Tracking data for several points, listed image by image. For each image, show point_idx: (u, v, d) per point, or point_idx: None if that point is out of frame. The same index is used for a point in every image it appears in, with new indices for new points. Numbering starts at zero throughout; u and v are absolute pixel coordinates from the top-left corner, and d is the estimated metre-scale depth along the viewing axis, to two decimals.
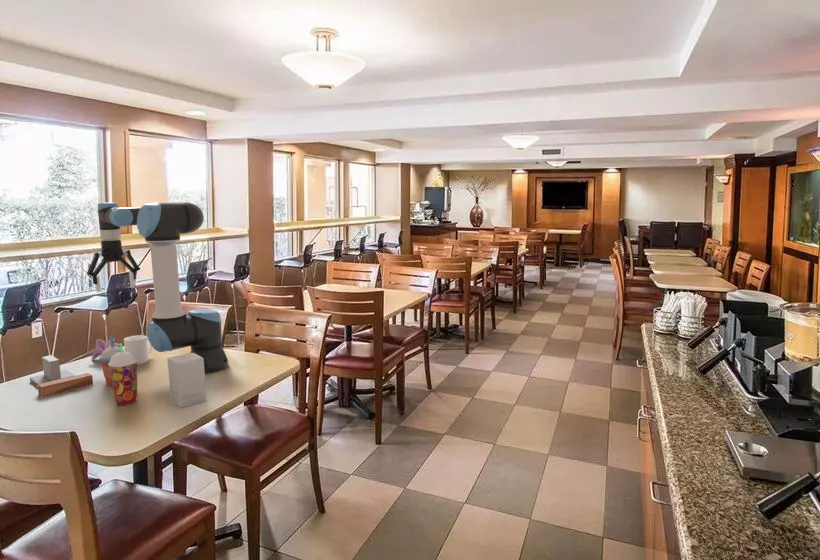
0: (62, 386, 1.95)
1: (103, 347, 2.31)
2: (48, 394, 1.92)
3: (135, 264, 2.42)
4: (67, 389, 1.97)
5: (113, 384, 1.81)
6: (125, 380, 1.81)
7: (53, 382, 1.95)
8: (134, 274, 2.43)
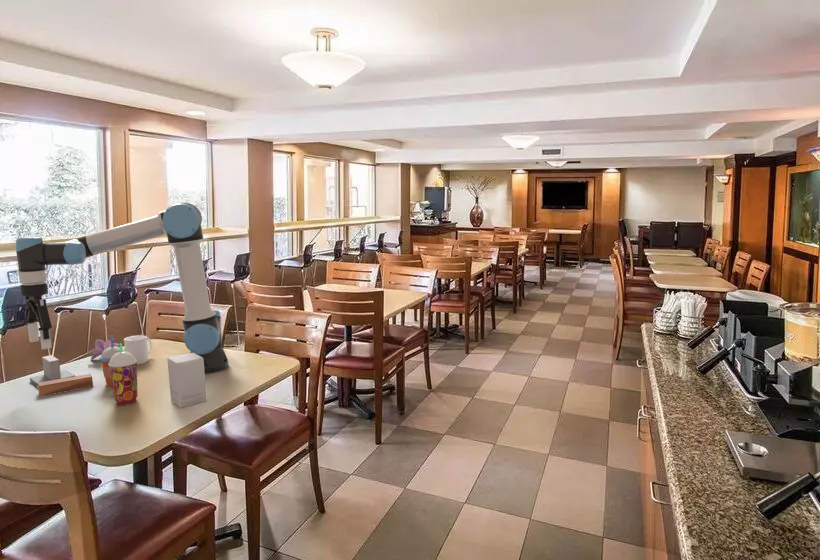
0: (60, 386, 1.95)
1: (102, 347, 2.31)
2: (46, 393, 1.93)
3: (41, 320, 1.83)
4: (66, 389, 1.96)
5: (113, 384, 1.81)
6: (125, 380, 1.81)
7: (52, 381, 1.95)
8: (43, 333, 1.84)
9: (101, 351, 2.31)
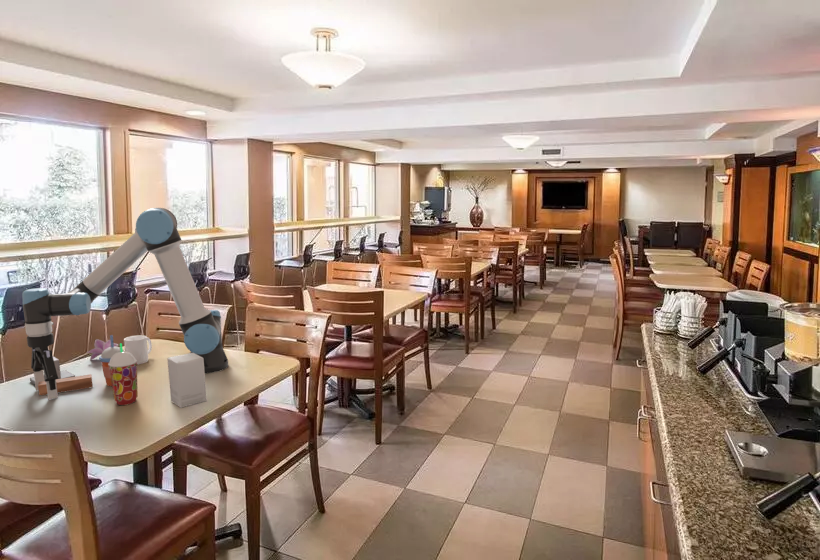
0: (59, 386, 1.95)
1: (102, 347, 2.31)
2: (45, 393, 1.93)
3: (47, 372, 1.86)
4: (65, 389, 1.96)
5: (113, 384, 1.81)
6: (125, 380, 1.81)
7: None
8: (50, 383, 1.87)
9: (100, 351, 2.31)
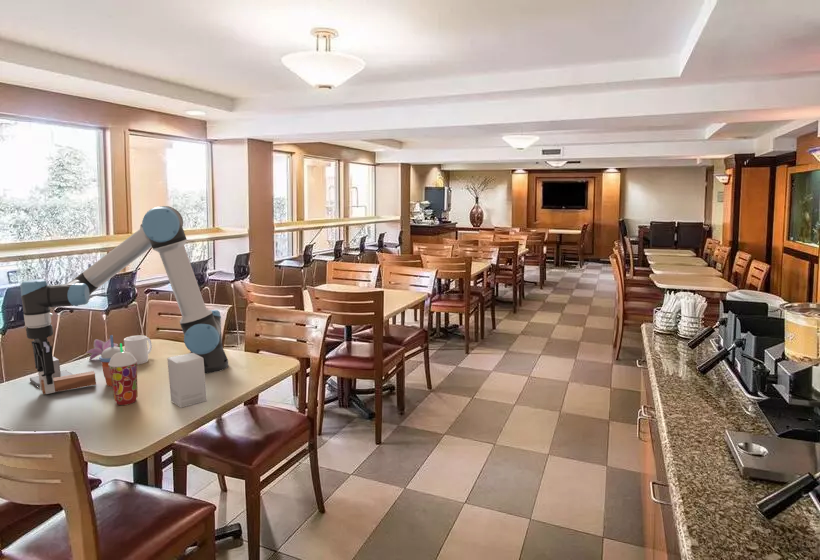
0: (63, 383, 1.94)
1: (101, 347, 2.31)
2: None
3: (45, 366, 1.88)
4: (68, 387, 1.95)
5: (113, 384, 1.81)
6: (125, 380, 1.81)
7: (55, 379, 1.95)
8: (46, 378, 1.90)
9: (100, 351, 2.31)
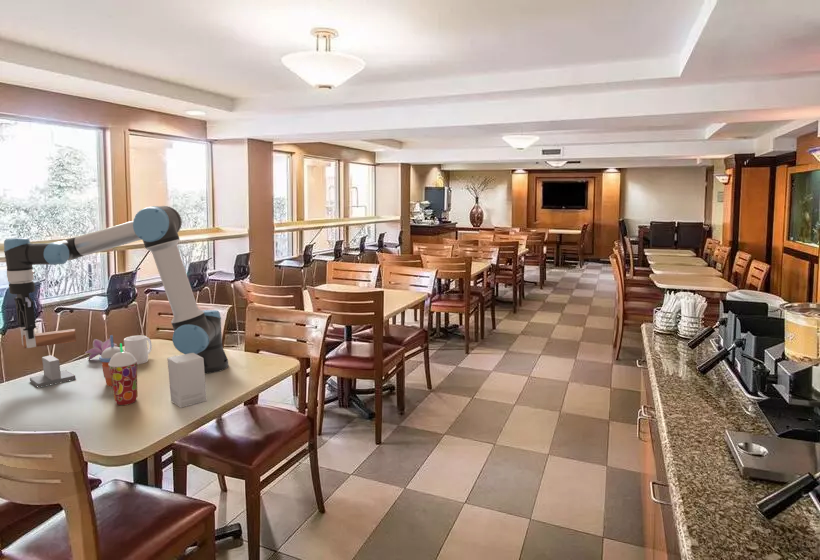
0: (43, 339, 2.02)
1: (100, 347, 2.31)
2: None
3: (26, 321, 1.95)
4: (49, 342, 2.03)
5: (113, 384, 1.81)
6: (125, 380, 1.81)
7: (37, 334, 2.02)
8: (28, 332, 1.97)
9: (99, 351, 2.31)
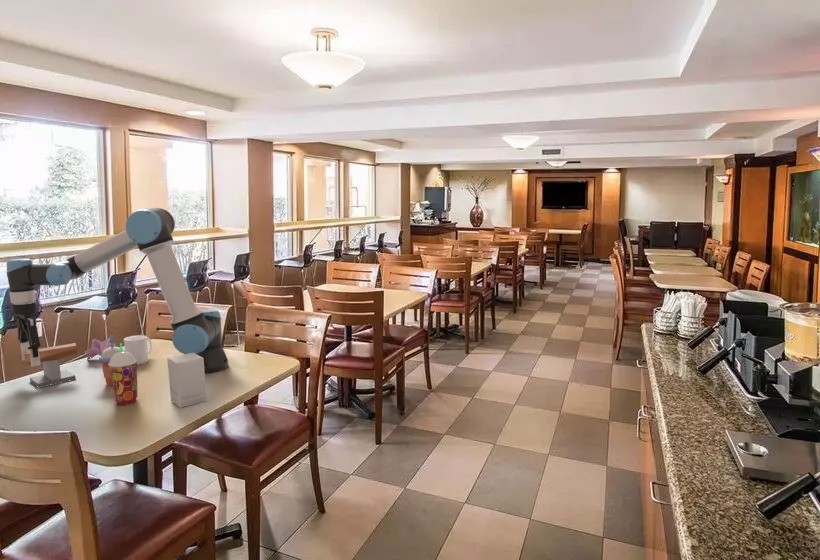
0: (45, 354, 2.03)
1: (99, 347, 2.31)
2: None
3: (30, 339, 1.95)
4: (51, 357, 2.04)
5: (113, 384, 1.81)
6: (125, 380, 1.81)
7: None
8: (32, 351, 1.97)
9: (97, 351, 2.31)
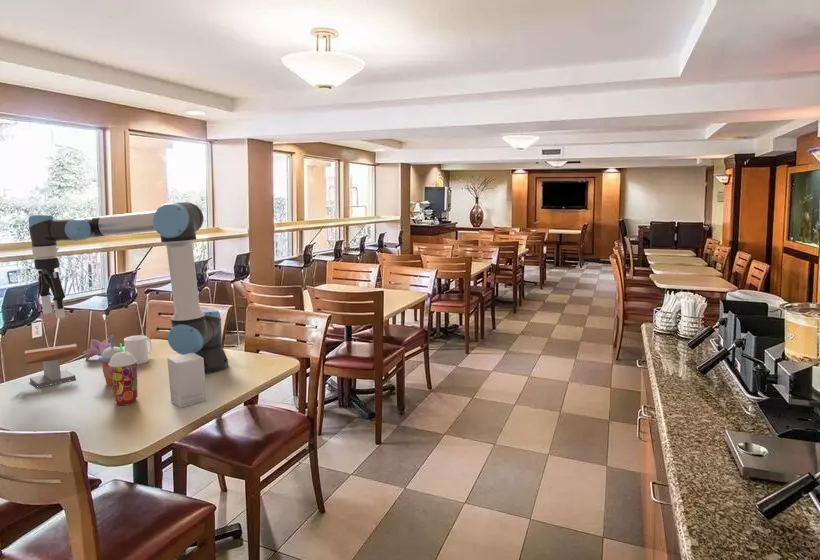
0: (45, 354, 2.03)
1: (97, 347, 2.31)
2: (31, 361, 2.01)
3: (54, 291, 1.97)
4: (51, 358, 2.04)
5: (113, 384, 1.81)
6: (125, 380, 1.81)
7: (38, 350, 2.03)
8: (57, 303, 1.99)
9: (96, 351, 2.31)
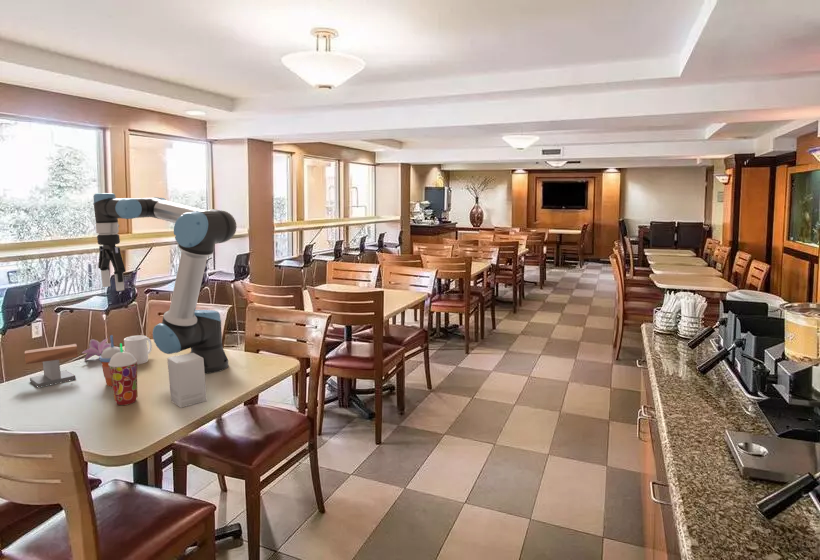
0: (45, 354, 2.03)
1: (96, 347, 2.31)
2: (31, 361, 2.01)
3: (116, 265, 2.10)
4: (51, 358, 2.04)
5: (113, 384, 1.81)
6: (125, 380, 1.81)
7: (38, 350, 2.03)
8: (118, 276, 2.11)
9: (95, 351, 2.31)
